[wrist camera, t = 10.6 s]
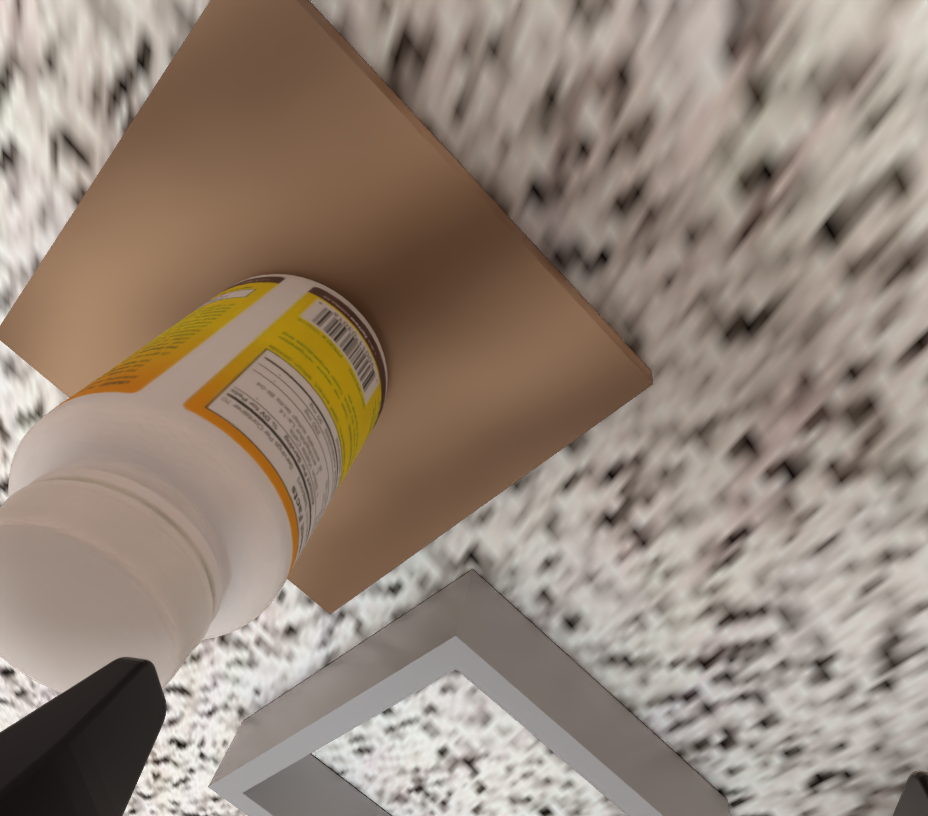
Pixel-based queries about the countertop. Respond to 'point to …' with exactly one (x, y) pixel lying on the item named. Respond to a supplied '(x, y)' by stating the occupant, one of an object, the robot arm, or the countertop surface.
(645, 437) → the countertop surface
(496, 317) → the walnut board
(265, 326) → the supplement bottle
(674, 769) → the grey square frame
